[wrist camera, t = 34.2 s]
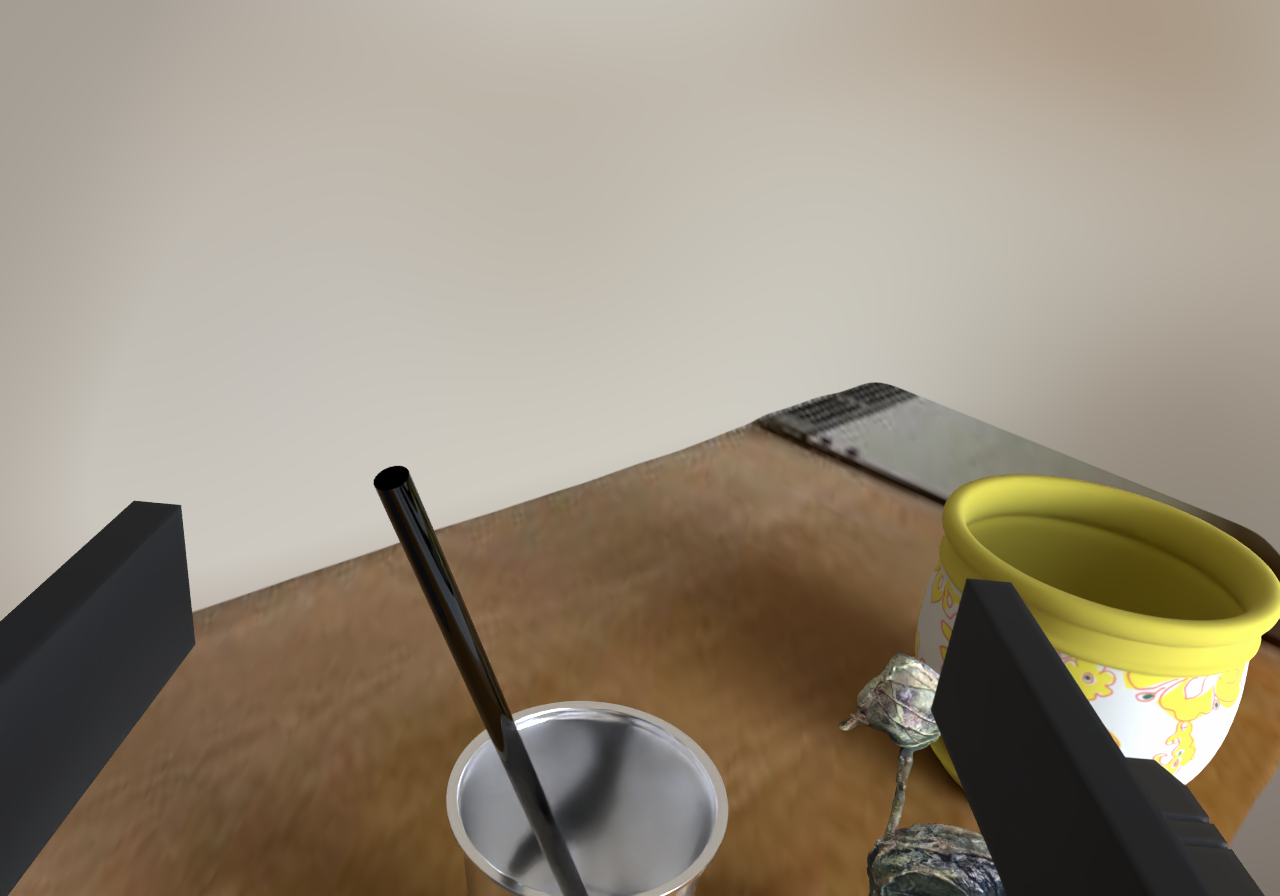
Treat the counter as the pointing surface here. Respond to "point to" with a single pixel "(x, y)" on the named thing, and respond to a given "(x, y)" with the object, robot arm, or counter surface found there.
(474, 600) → the counter surface
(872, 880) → the decorative sculpture
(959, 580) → the flowerpot
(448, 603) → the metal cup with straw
